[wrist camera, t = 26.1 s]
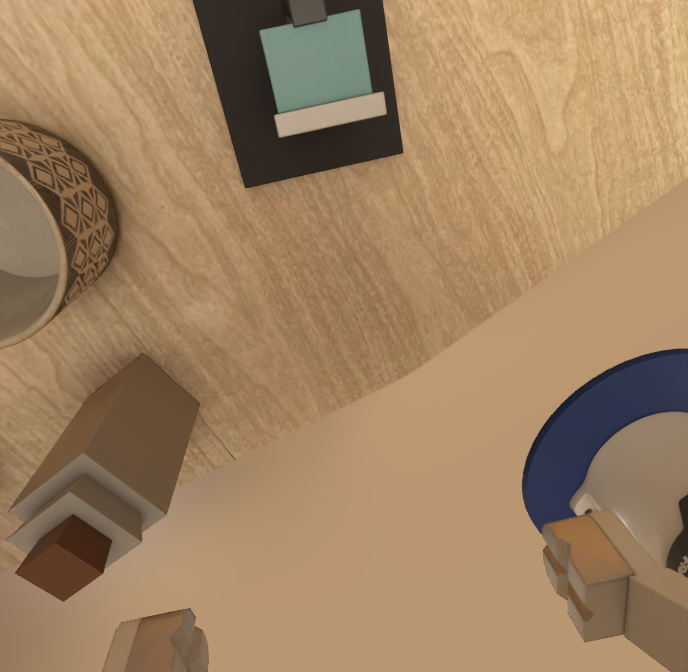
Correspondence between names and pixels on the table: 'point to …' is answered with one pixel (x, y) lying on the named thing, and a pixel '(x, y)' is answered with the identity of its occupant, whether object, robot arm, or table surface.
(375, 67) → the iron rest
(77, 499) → the perfume bottle
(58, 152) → the planter
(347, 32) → the iron
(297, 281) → the table surface
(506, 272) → the table surface
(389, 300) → the table surface
